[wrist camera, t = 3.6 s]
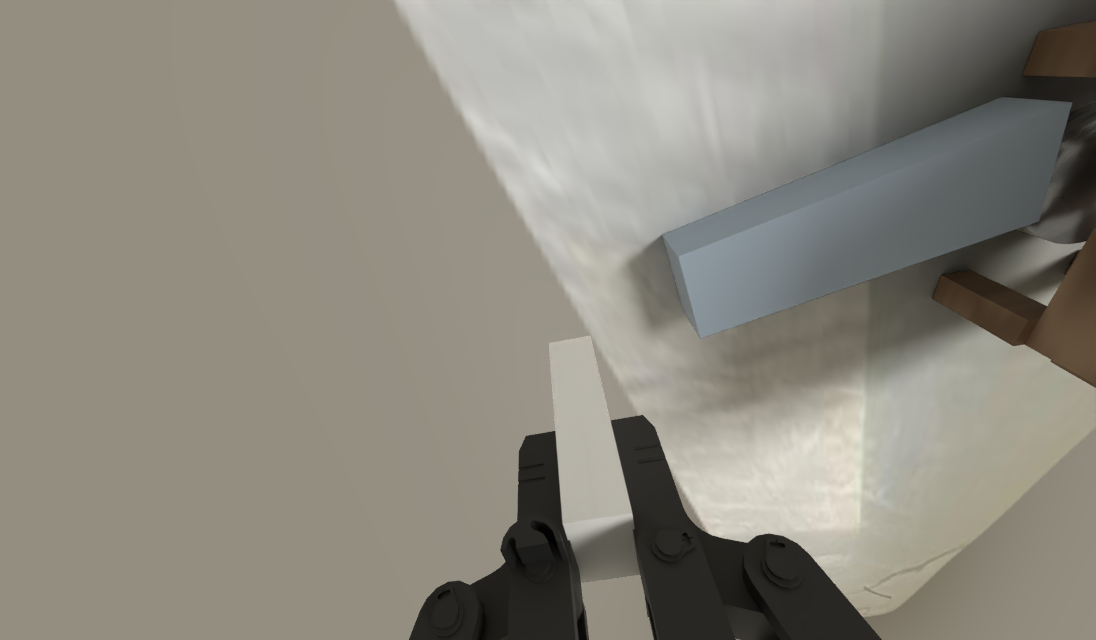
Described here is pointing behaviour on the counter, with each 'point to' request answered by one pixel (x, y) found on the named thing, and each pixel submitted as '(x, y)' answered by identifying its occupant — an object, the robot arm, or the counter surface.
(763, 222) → the batten
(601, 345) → the counter surface
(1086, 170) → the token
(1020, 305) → the cabinet
